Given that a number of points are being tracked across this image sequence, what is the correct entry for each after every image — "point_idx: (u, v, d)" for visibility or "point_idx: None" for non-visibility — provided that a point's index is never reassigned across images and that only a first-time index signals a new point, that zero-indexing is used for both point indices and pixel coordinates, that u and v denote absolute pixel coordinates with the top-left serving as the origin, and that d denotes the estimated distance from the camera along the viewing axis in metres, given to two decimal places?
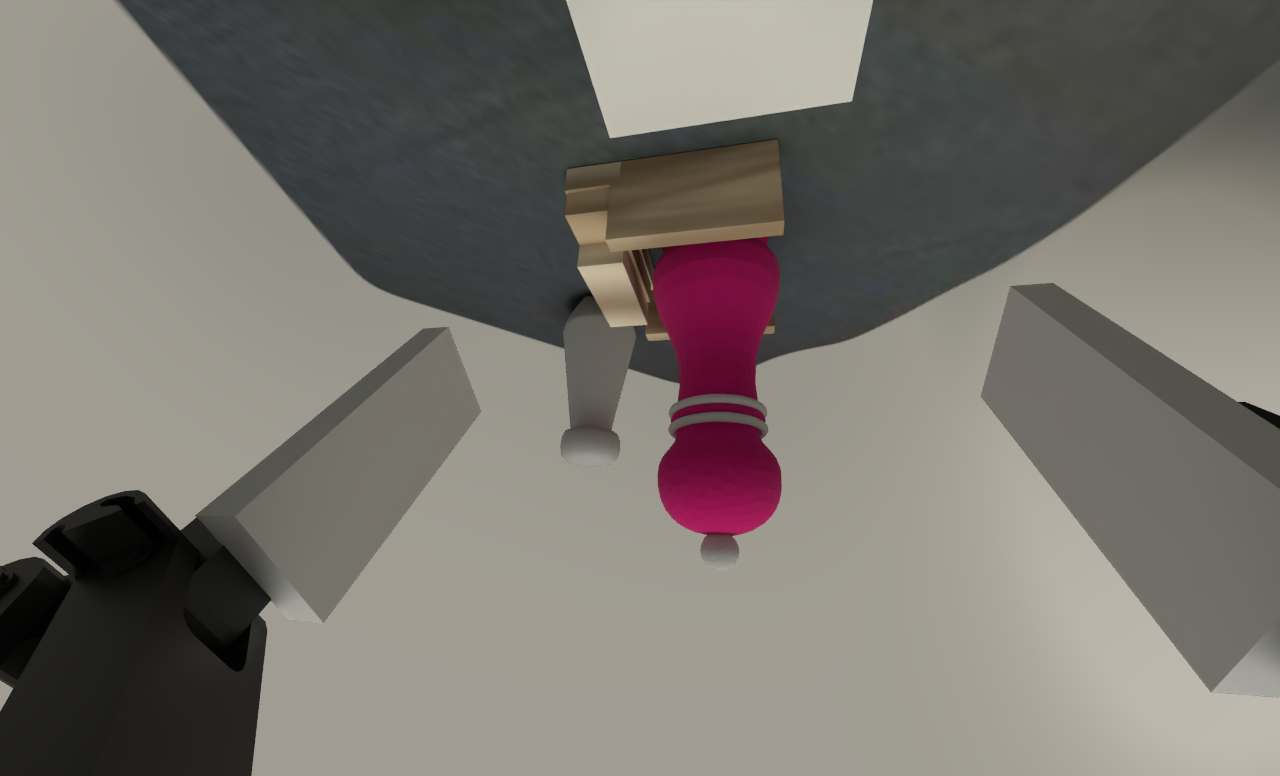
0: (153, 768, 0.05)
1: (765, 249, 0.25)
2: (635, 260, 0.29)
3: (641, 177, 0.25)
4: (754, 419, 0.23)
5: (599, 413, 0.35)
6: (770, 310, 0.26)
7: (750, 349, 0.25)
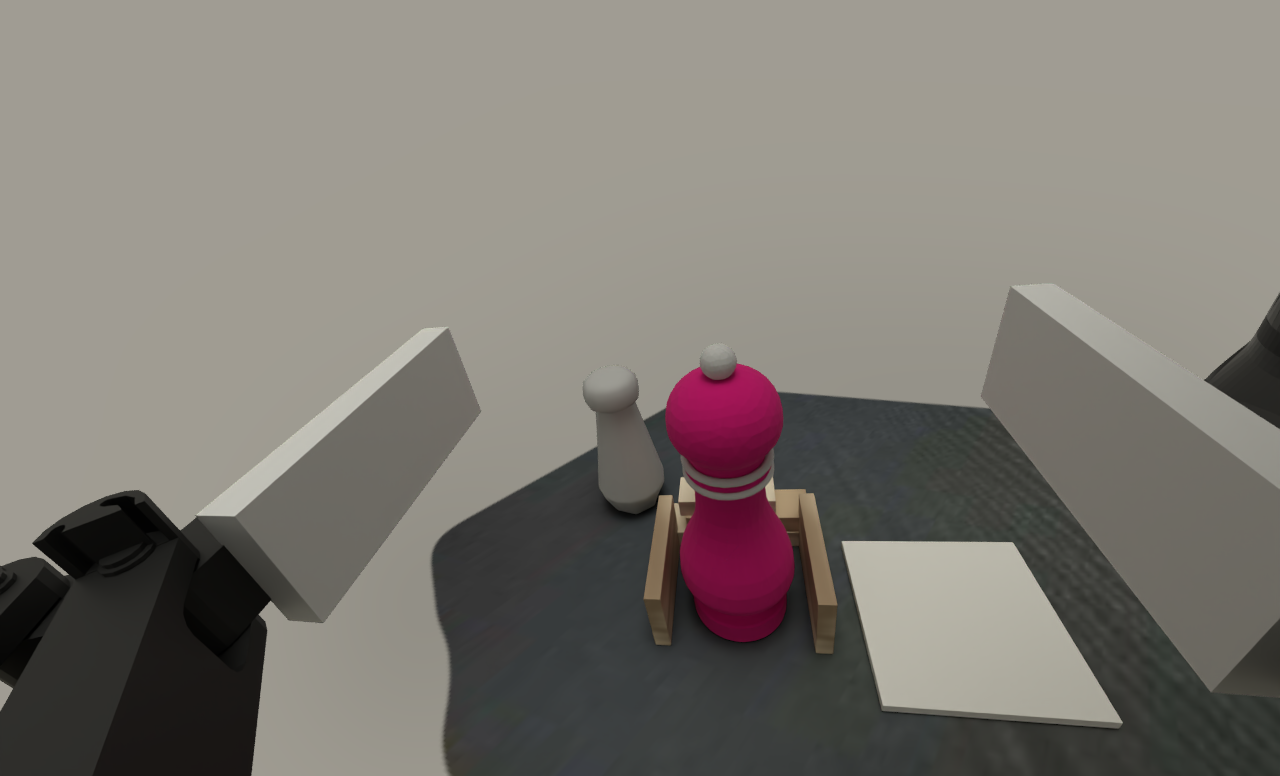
0: (153, 768, 0.05)
1: (776, 601, 0.28)
2: None
3: None
4: (760, 476, 0.24)
5: (630, 417, 0.37)
6: (745, 574, 0.27)
7: (752, 528, 0.27)
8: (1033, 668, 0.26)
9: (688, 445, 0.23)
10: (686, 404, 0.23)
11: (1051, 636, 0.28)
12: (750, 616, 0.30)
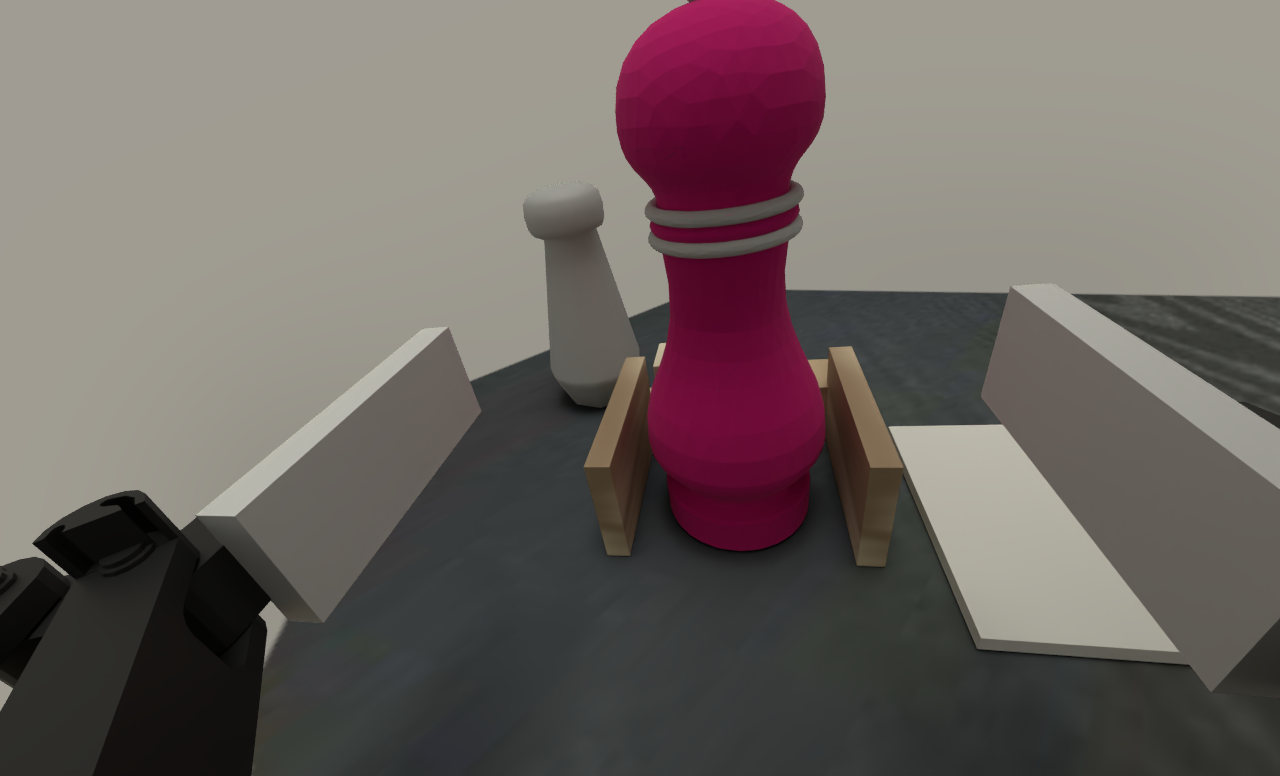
0: (153, 768, 0.05)
1: (797, 473, 0.17)
2: None
3: None
4: (780, 207, 0.14)
5: (590, 252, 0.26)
6: (748, 416, 0.16)
7: (763, 332, 0.16)
8: None
9: (649, 115, 0.12)
10: (647, 38, 0.12)
11: None
12: (754, 507, 0.19)
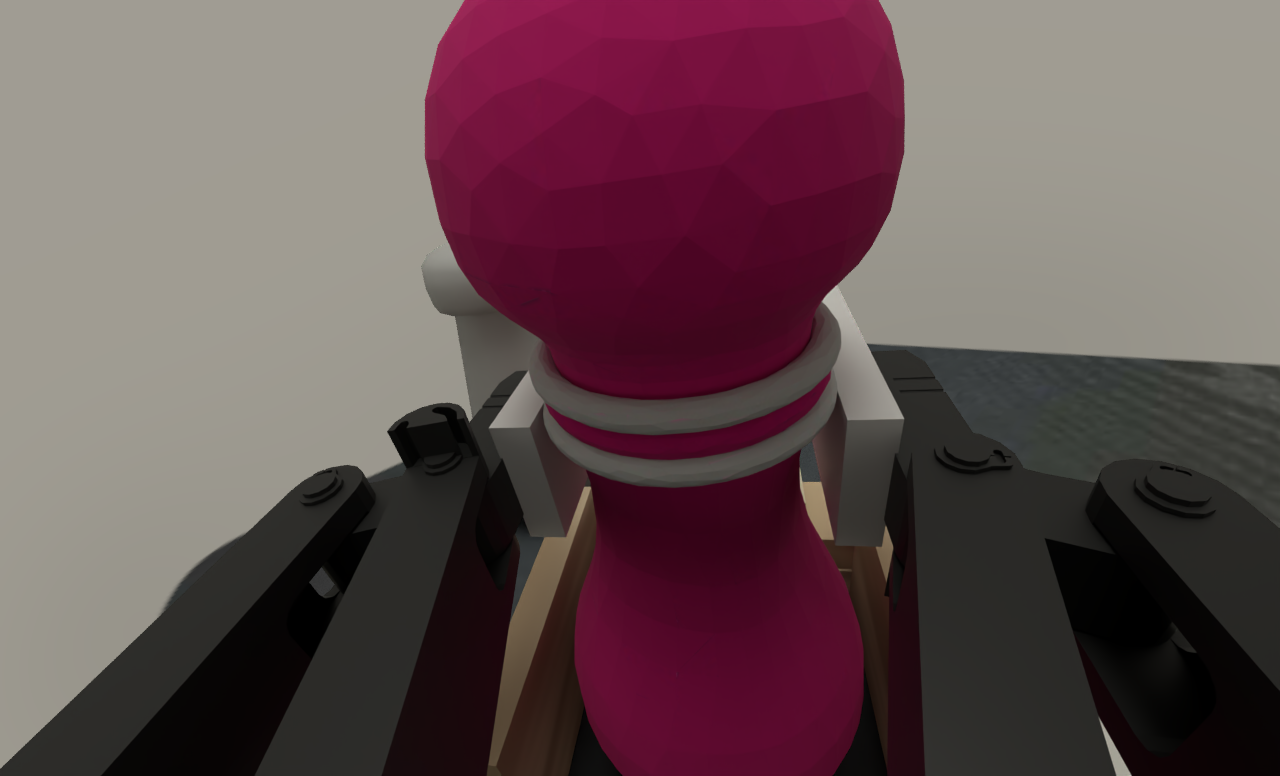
0: (445, 677, 0.05)
1: None
2: None
3: None
4: (798, 393, 0.06)
5: (519, 331, 0.19)
6: (733, 724, 0.09)
7: (760, 583, 0.08)
8: None
9: (467, 208, 0.05)
10: (459, 12, 0.05)
11: None
12: None
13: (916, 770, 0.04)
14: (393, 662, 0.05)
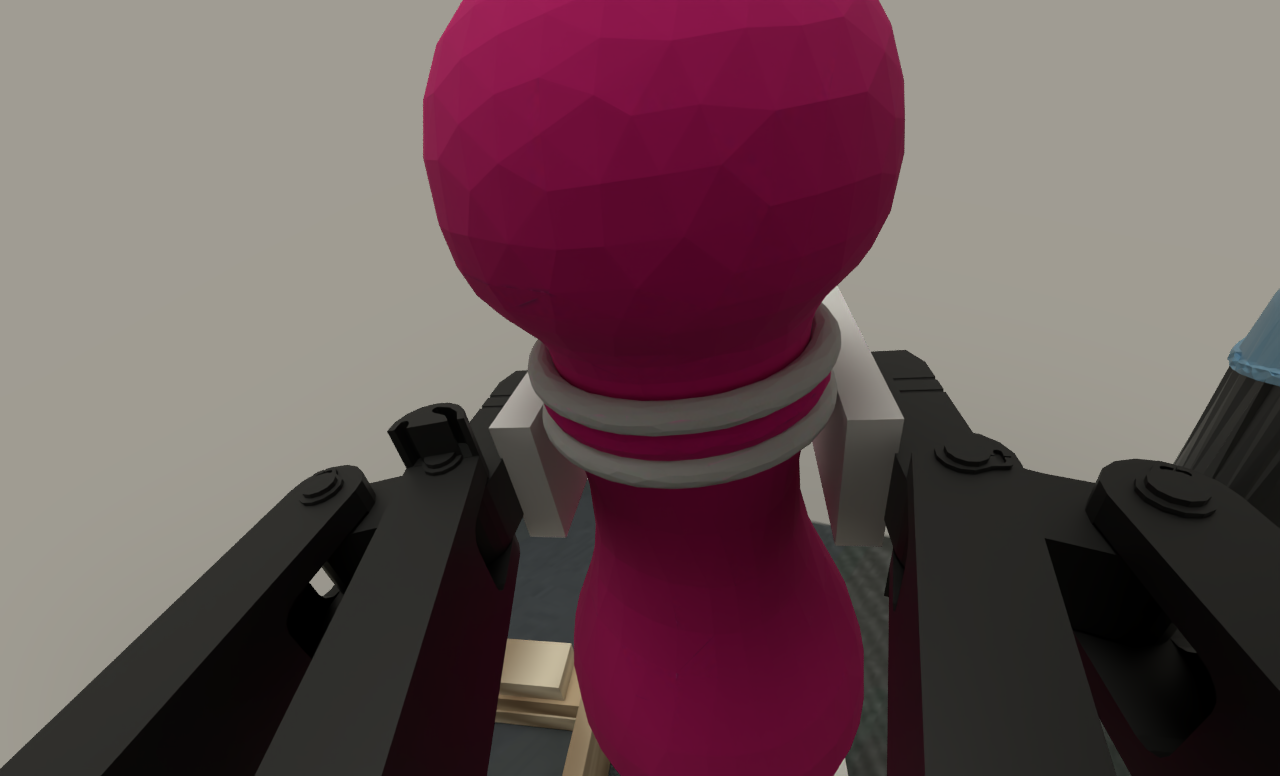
0: (445, 677, 0.05)
1: None
2: (531, 702, 0.29)
3: None
4: (797, 394, 0.06)
5: None
6: (733, 726, 0.09)
7: (760, 585, 0.08)
8: None
9: (465, 209, 0.05)
10: (457, 11, 0.05)
11: None
12: None
13: (916, 770, 0.04)
14: (393, 662, 0.05)
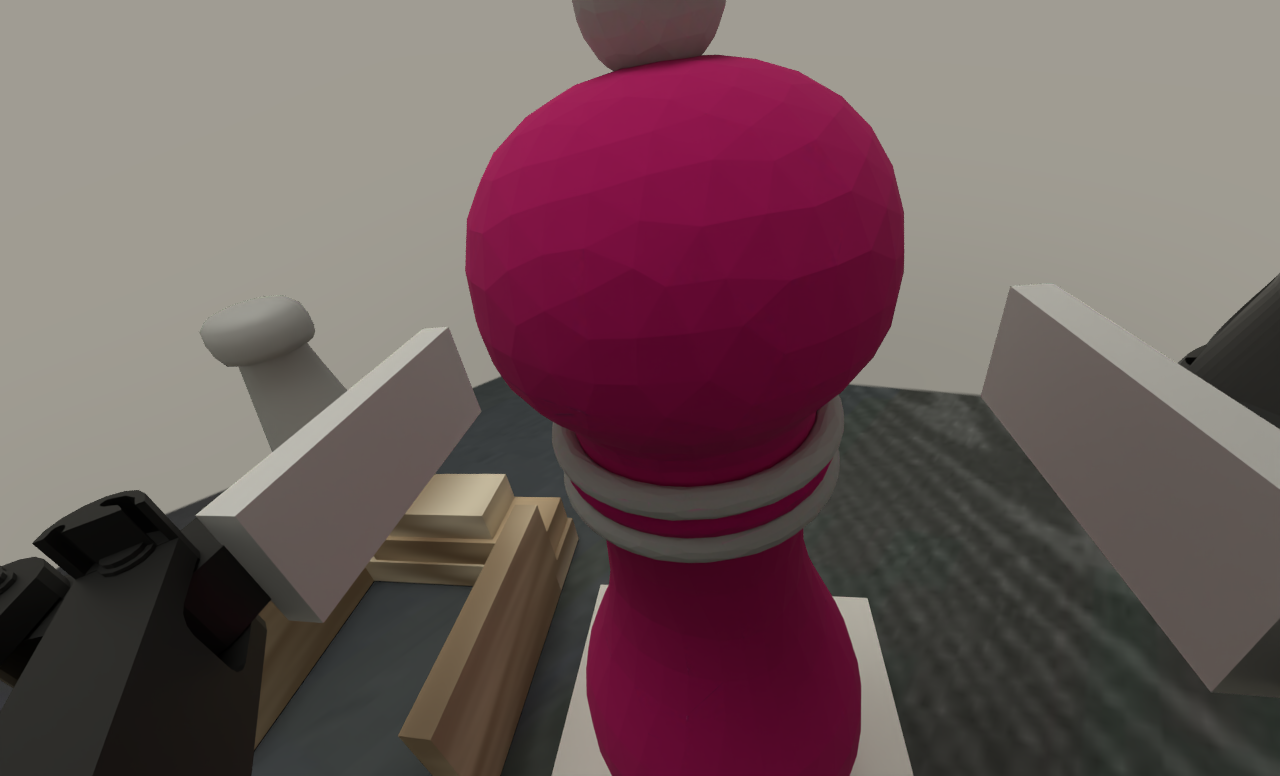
0: (153, 768, 0.05)
1: None
2: (450, 543, 0.22)
3: (546, 596, 0.20)
4: (804, 482, 0.07)
5: (290, 376, 0.23)
6: (739, 765, 0.09)
7: (766, 637, 0.09)
8: None
9: (510, 337, 0.05)
10: (504, 160, 0.05)
11: None
12: None
13: None
14: (66, 770, 0.04)
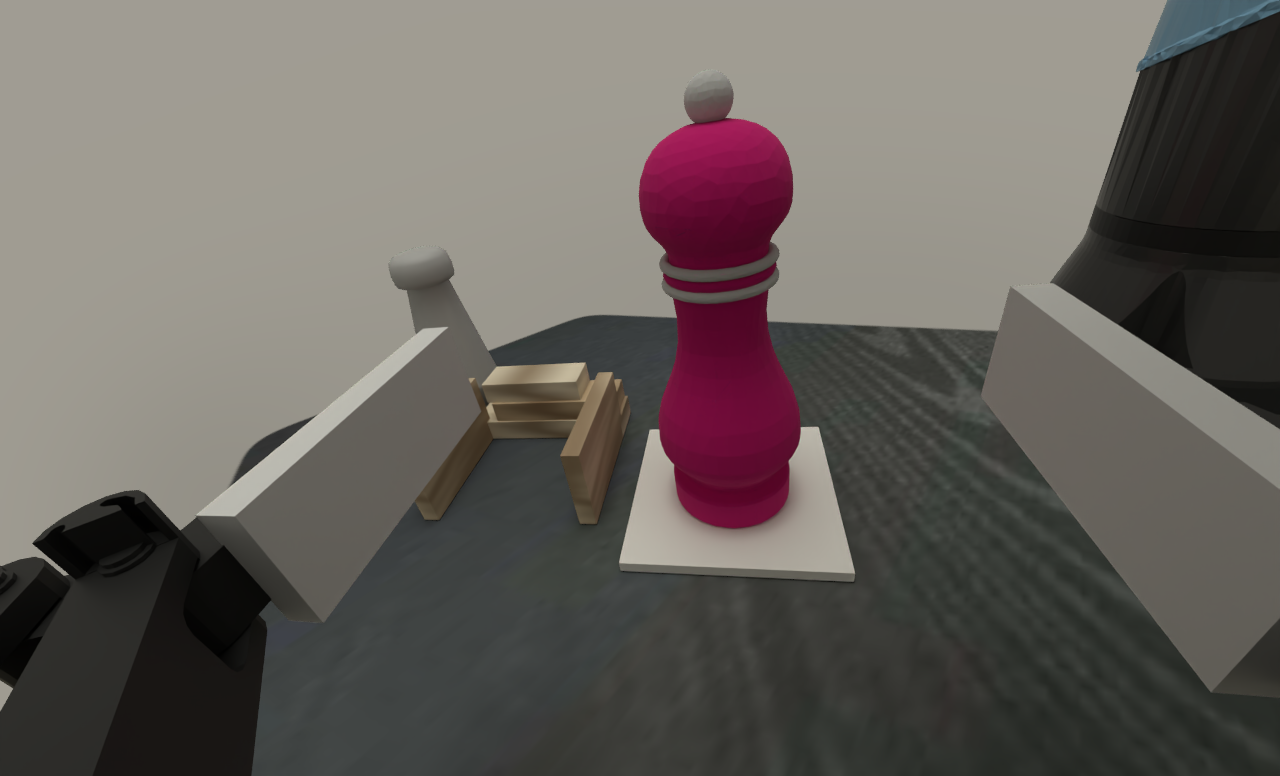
0: (153, 768, 0.05)
1: (777, 465, 0.22)
2: (552, 403, 0.33)
3: (616, 432, 0.32)
4: (761, 268, 0.19)
5: (441, 299, 0.35)
6: (739, 420, 0.21)
7: (749, 357, 0.21)
8: (787, 529, 0.24)
9: (666, 206, 0.17)
10: (664, 151, 0.17)
11: (818, 502, 0.25)
12: (744, 493, 0.24)
13: None
14: (66, 771, 0.04)
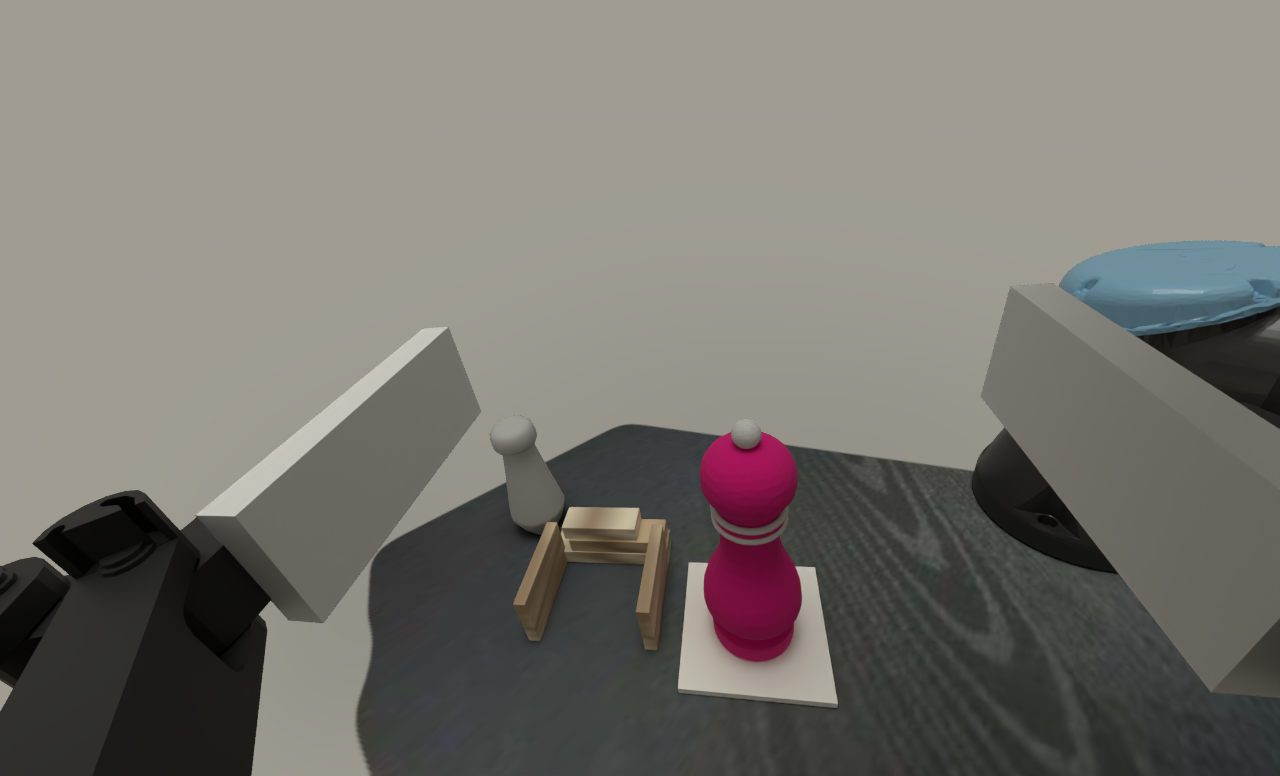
0: (153, 768, 0.05)
1: (786, 628, 0.34)
2: (615, 542, 0.45)
3: (665, 567, 0.43)
4: (777, 526, 0.30)
5: (528, 458, 0.46)
6: (761, 605, 0.32)
7: (769, 567, 0.32)
8: (792, 664, 0.35)
9: (720, 501, 0.28)
10: (719, 468, 0.28)
11: (814, 640, 0.37)
12: (763, 639, 0.35)
13: None
14: (66, 771, 0.05)
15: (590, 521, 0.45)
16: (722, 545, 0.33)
